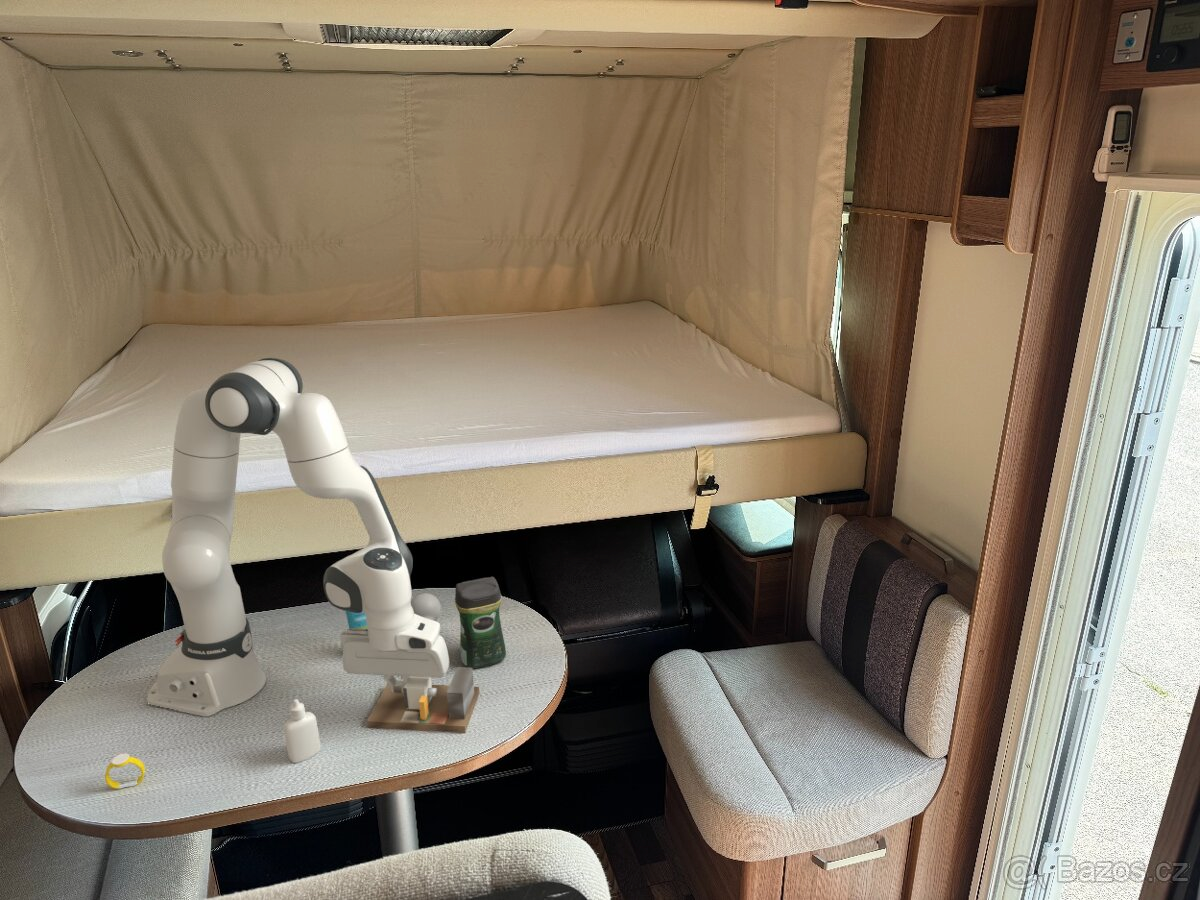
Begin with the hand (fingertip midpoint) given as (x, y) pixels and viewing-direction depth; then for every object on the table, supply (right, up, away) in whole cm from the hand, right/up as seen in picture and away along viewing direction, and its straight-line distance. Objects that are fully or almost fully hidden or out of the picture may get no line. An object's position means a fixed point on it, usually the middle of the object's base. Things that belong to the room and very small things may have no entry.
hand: (399, 690), depth 167 cm
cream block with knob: (+4, -3, -1) cm, 5 cm away
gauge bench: (+5, -4, +1) cm, 6 cm away
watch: (-44, -12, -17) cm, 48 cm away
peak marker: (+6, -4, -4) cm, 8 cm away
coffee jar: (+14, +2, +17) cm, 22 cm away
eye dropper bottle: (-15, -9, -10) cm, 20 cm away
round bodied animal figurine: (0, +6, +27) cm, 27 cm away
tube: (-12, +3, +20) cm, 23 cm away
